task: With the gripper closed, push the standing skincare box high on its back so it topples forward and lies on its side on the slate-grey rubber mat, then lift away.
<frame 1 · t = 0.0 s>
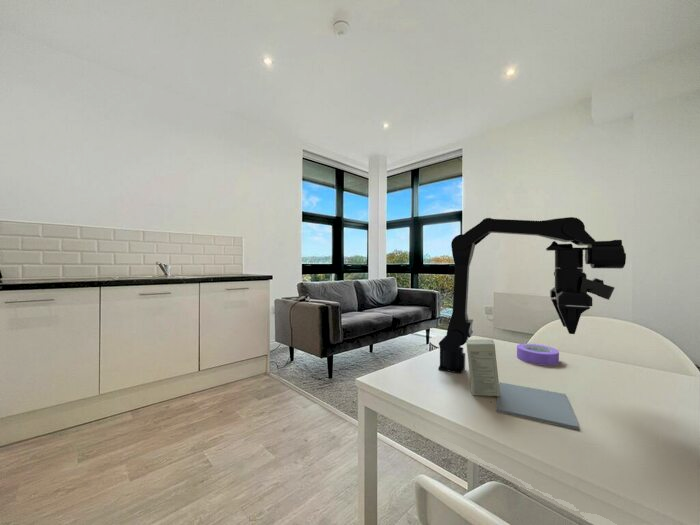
hand: (568, 330, 74), 15 cm above the table, tool pointing down, fingers open, 9 cm apart
skincare box: (484, 392, 70), on the table, touching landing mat
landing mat: (532, 403, 66), on the table
masking tape: (537, 360, 96), on the table
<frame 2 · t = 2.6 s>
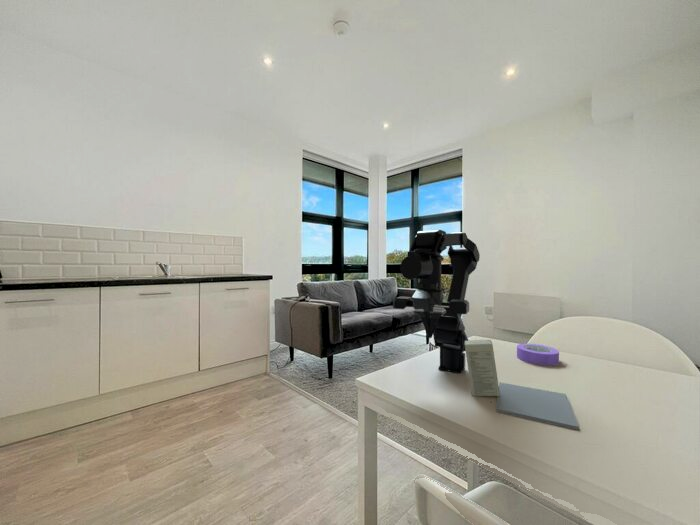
hand: (430, 337, 77), 12 cm above the table, tool pointing down, fingers closed
skincare box: (484, 393, 70), on the table, touching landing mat
everything else where it was.
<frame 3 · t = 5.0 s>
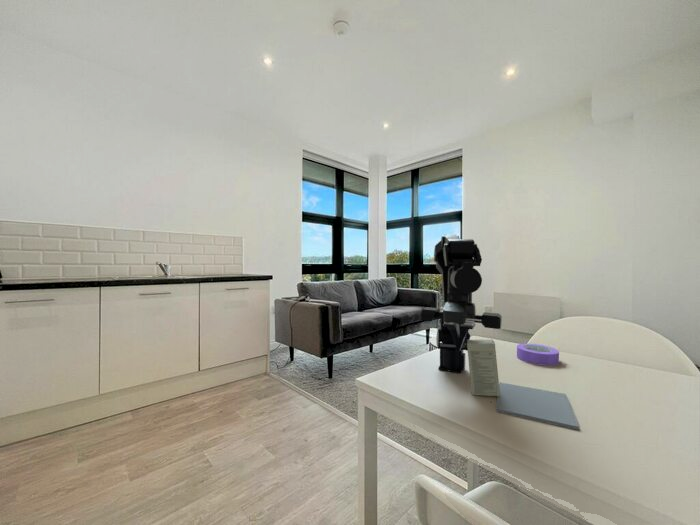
hand: (458, 351, 73), 9 cm above the table, tool pointing down, fingers closed
skincare box: (484, 392, 70), on the table, touching gripper, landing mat
everything else where it was.
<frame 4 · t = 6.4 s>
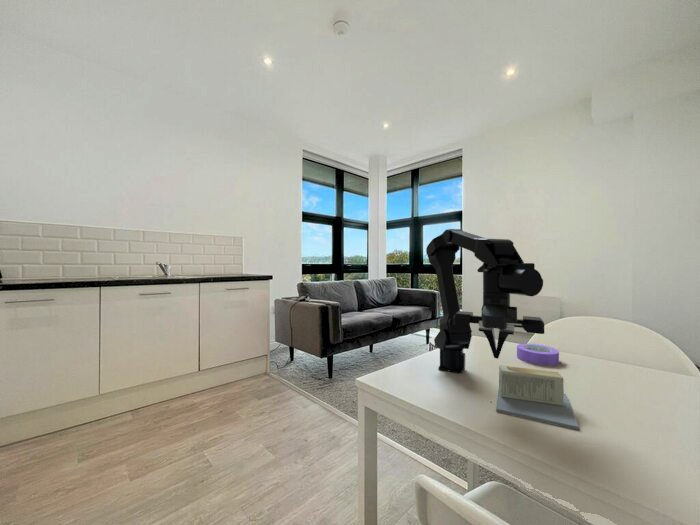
hand: (496, 358, 69), 9 cm above the table, tool pointing down, fingers closed
skincare box: (498, 379, 69), point 4 cm above the table, touching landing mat
everything else where it was.
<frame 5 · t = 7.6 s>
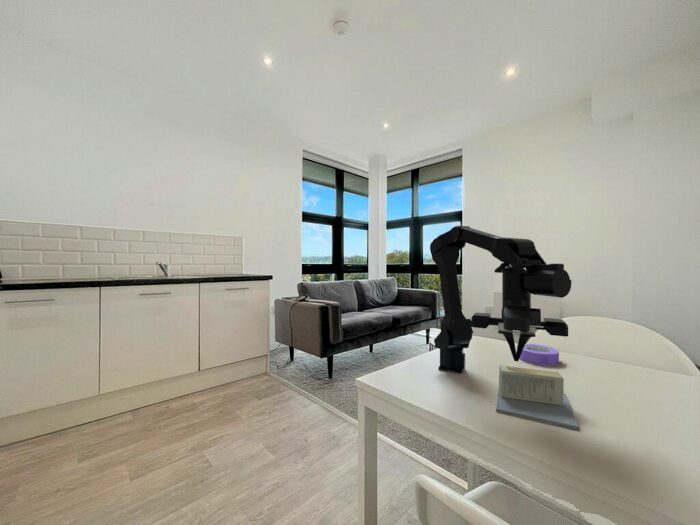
hand: (516, 360, 67), 9 cm above the table, tool pointing down, fingers closed
nothing on the table moved.
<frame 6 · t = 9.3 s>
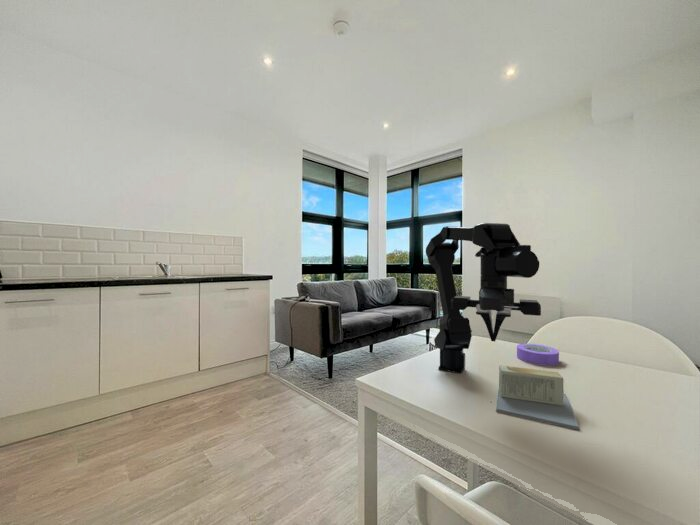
hand: (493, 341, 70), 13 cm above the table, tool pointing down, fingers closed
nothing on the table moved.
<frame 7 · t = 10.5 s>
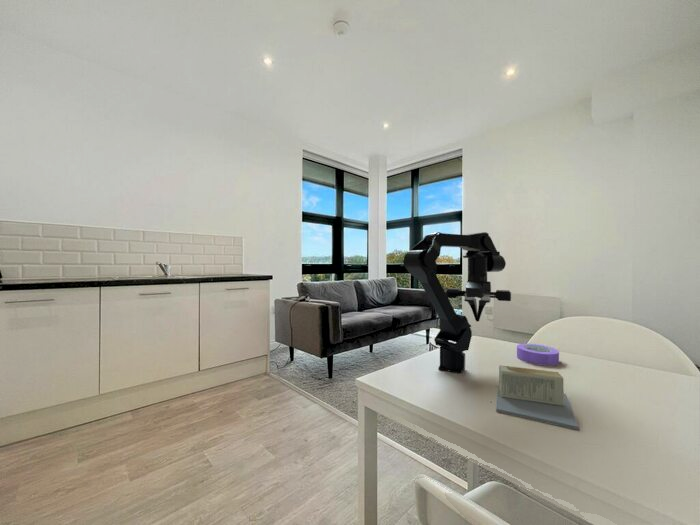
hand: (477, 321, 93), 13 cm above the table, tool pointing down, fingers closed
nothing on the table moved.
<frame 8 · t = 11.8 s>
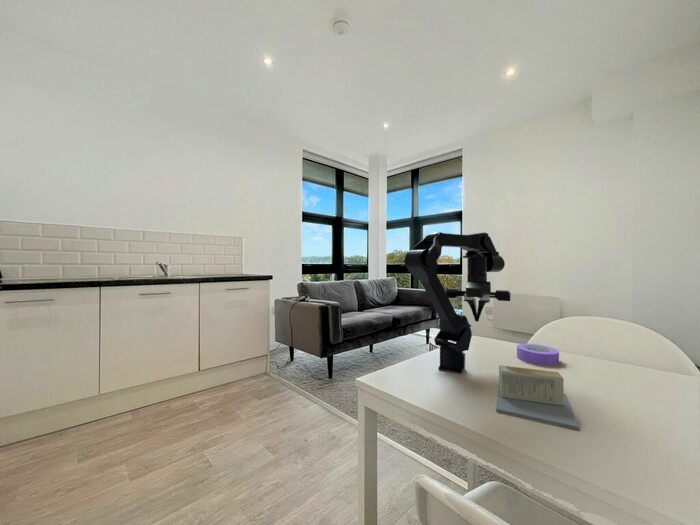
hand: (476, 321, 93), 13 cm above the table, tool pointing down, fingers closed
nothing on the table moved.
at the end: skincare box tilted 91°; skincare box touching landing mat; skincare box inside the target area (3.3 cm from its centre), point 3.8 cm above the table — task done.
